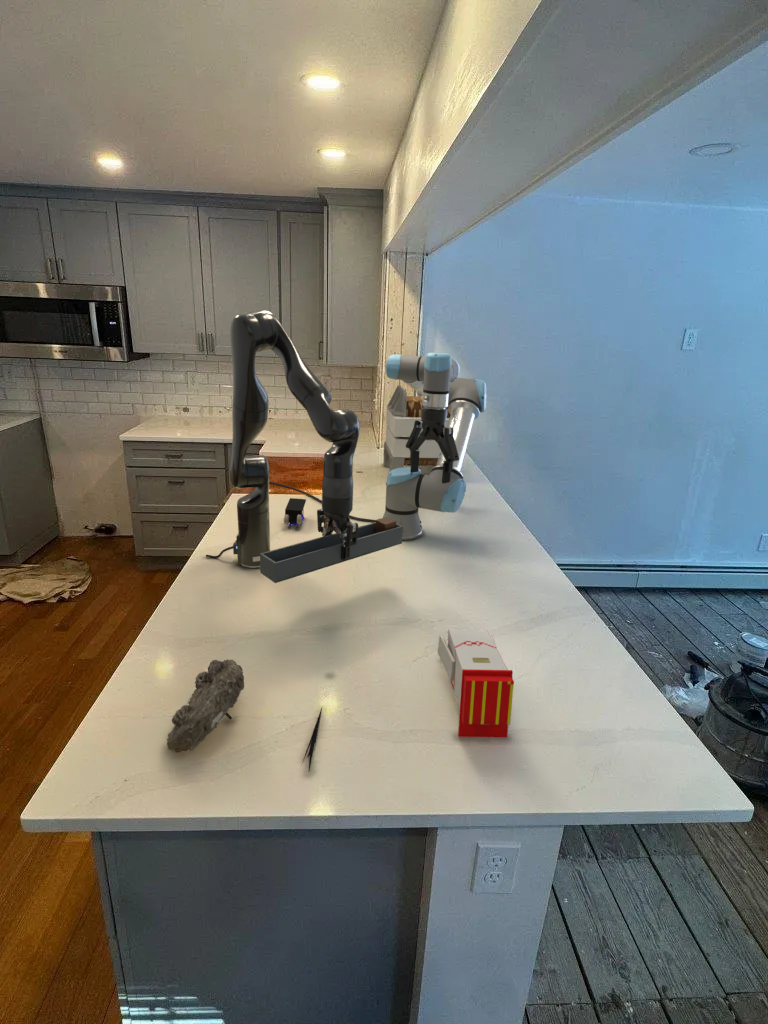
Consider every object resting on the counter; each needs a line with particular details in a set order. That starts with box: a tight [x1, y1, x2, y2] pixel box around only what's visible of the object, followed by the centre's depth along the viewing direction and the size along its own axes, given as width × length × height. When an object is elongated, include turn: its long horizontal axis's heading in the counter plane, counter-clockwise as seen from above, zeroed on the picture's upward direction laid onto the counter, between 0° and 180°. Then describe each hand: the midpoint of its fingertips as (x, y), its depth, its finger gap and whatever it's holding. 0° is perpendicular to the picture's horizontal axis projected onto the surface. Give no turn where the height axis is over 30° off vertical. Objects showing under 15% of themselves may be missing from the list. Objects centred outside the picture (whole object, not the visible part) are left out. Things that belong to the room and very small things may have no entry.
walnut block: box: [374, 517, 396, 534], centre depth 153 cm, size 4×4×6 cm
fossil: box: [166, 658, 245, 754], centre depth 106 cm, size 22×10×15 cm
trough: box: [259, 522, 403, 584], centre depth 143 cm, size 7×40×5 cm, turn 132°
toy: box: [437, 628, 515, 738], centre depth 117 cm, size 12×13×30 cm
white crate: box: [383, 384, 462, 473], centre depth 268 cm, size 34×33×41 cm
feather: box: [301, 673, 332, 771], centre depth 108 cm, size 2×28×2 cm
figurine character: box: [283, 497, 307, 529], centre depth 204 cm, size 7×8×15 cm
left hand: (336, 554), depth 144 cm, fingers closed on trough, 6 cm apart
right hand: (429, 477), depth 173 cm, fingers open, 13 cm apart
